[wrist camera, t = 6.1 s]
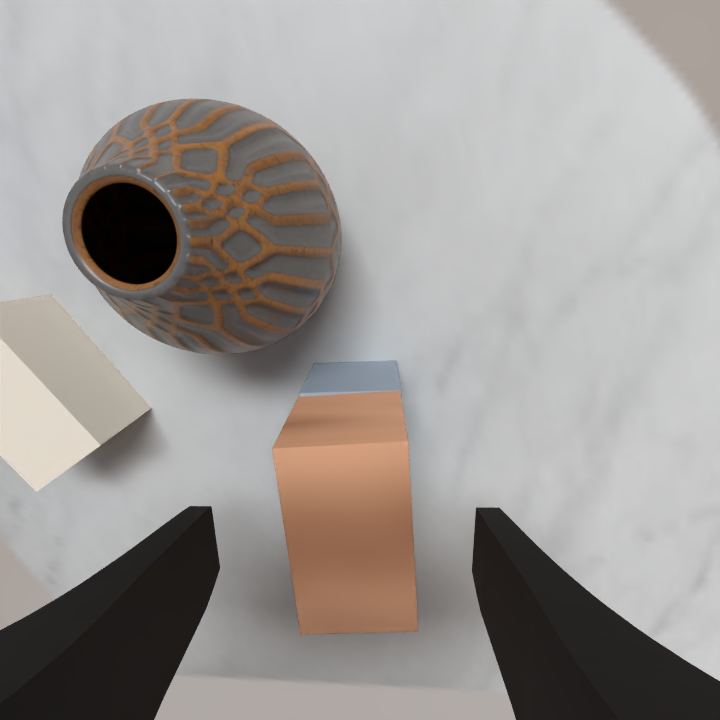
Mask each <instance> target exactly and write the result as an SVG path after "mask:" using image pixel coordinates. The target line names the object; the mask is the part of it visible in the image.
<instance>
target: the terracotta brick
mask: <svg viewBox="0 0 720 720" xmlns="http://www.w3.org/2000/svg"><path fill="white" fill-rule="evenodd" d="M272 450H273V456H274V463H275V470H276V476H277V483H278V489H279V496H280V502H281V509H282V515H283V522H284V529H285V535H286V542H287V548H288V555H289V561H290V568H291V575H292V581H293V588H294V594H295V601H296V607H297V614H298V620H299V627H300V634H301V635H302V634H338V633H375V632H411V631H418V619H417V600H416V581H415V562H414V543H413V524H412V505H411V486H410V467H409V448H408V437H407V431H406V424H405V418H404V412H403V405H402V399H401V393H400V391H383V392H367V393H351V394H335V395H318V396H302V397H298V398H297V400H296V402H295V404H294V406H293V408H292V410H291V412H290V414H289V416H288V418H287V420H286V422H285V424H284V426H283V428H282V430H281V432H280V434H279V436H278V438H277V440H276V442H275V444H274V446H273V448H272Z"/></svg>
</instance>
